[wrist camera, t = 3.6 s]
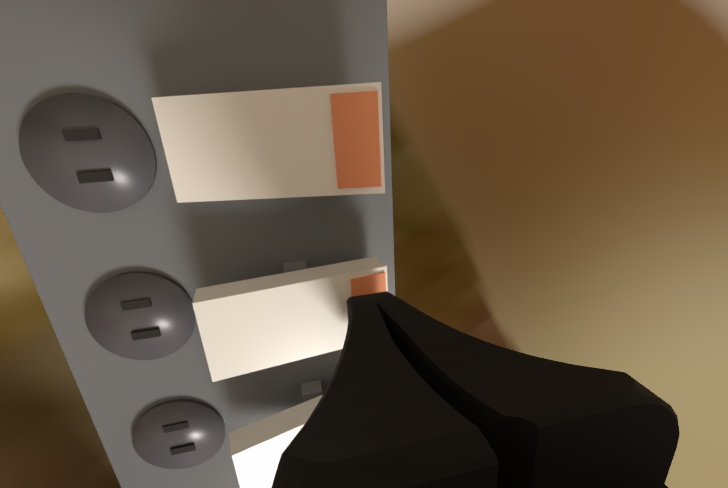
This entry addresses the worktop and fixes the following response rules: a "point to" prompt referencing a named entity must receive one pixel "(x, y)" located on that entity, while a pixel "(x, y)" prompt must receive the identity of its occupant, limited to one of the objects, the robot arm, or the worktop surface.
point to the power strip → (170, 207)
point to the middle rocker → (281, 315)
